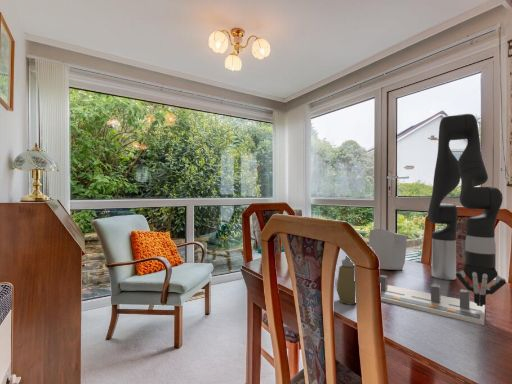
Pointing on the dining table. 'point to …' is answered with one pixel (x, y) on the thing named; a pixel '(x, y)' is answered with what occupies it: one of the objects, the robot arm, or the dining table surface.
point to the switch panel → (434, 304)
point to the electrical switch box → (389, 248)
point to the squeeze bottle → (346, 282)
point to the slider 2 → (464, 299)
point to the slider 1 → (384, 282)
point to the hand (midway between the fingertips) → (479, 305)
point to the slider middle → (435, 293)
